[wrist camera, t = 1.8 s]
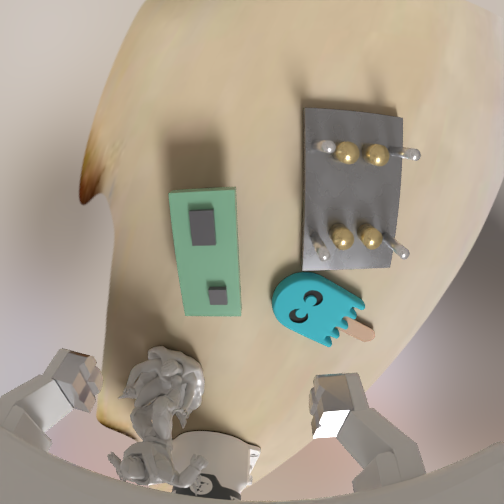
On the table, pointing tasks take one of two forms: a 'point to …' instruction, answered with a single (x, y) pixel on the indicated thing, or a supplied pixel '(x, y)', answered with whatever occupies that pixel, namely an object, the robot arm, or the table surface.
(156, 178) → the table surface
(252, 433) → the table surface
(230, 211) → the board
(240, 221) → the table surface
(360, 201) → the chassis
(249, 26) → the table surface
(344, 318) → the toy
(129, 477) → the figurine
